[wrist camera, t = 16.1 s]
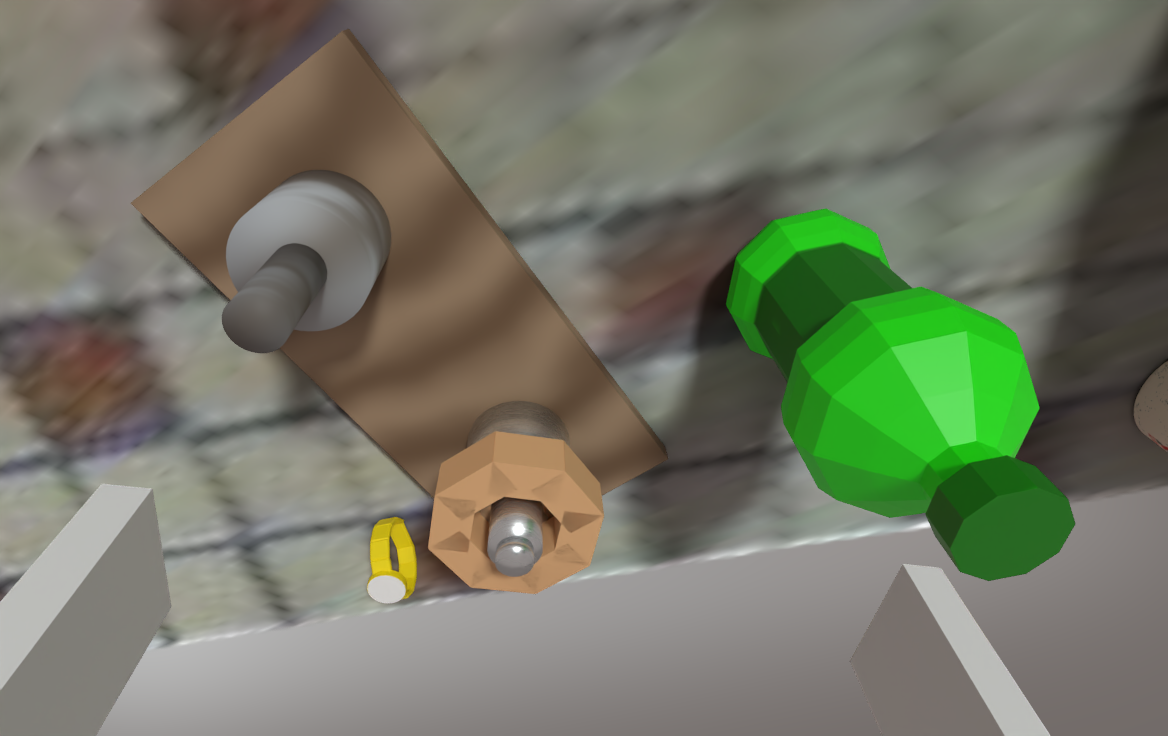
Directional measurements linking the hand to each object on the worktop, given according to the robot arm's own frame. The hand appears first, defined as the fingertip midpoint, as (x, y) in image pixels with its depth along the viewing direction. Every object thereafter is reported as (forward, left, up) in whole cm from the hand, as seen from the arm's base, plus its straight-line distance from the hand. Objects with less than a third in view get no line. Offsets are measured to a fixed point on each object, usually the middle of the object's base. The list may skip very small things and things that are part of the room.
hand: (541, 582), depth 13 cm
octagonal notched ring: (+20, +2, -26) cm, 33 cm away
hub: (+20, +2, -32) cm, 37 cm away
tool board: (+13, -5, -33) cm, 36 cm away
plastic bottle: (+4, +17, -33) cm, 38 cm away
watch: (+31, -6, -33) cm, 46 cm away
